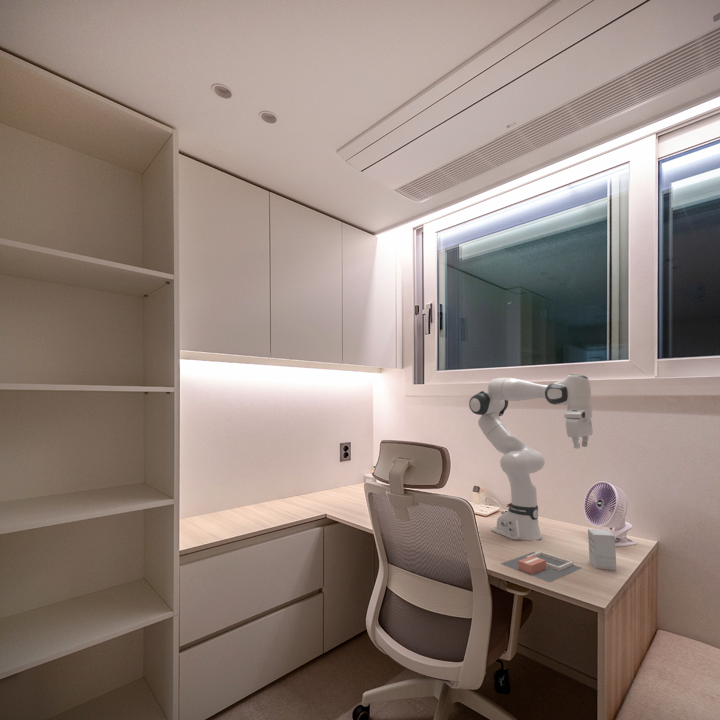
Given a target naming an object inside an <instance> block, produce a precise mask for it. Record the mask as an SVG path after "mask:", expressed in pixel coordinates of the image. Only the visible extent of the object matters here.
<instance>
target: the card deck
mask: <svg viewBox="0 0 720 720" xmlns="http://www.w3.org/2000/svg"><path fill="white" fill-rule="evenodd" d="M518 569H519V570H522V571H524V572H527V573H530V574H534V573H537V572H539V571H542V570H544V569H546V560H543V559H540V558H537V557H534V556H530V557H528V558H525V559H522V560H519V561H518Z"/></svg>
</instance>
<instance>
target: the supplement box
mask: <svg viewBox="0 0 720 720" xmlns="http://www.w3.org/2000/svg"><path fill="white" fill-rule="evenodd" d="M587 536H588V537H587V539H588V556H589V557H588V558H589V562H590V564H592V566H593V567H594V568H595V569H602V570H614V571H617V556H616V554H617V553H616V541H615V540H616V539H615V537H616V536H615V535H614V534H613V533H612V532H611V531H609V530H608V529H599V528H598V529H596V528H588V529H587Z"/></svg>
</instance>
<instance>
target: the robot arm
mask: <svg viewBox="0 0 720 720" xmlns="http://www.w3.org/2000/svg"><path fill="white" fill-rule="evenodd" d="M591 390H592V389H591V383H590V379H589V378H588V377H587V376H586V375H582V374H576V373H575V374H572V373H571V374H568V375H567V376H566V377H565V378H563V379H560V380H558V381H556V382H553V383H550V384H547V385H546V384H539V383H536V382H531V381H528V380H523V379H519V378H514V377H497V378H493V379H491V380H490V381H489V383H488V386H487V390H486V391H484V390H481V391H480V392H478V393H476V394H474V395H472V396H471V398H470V399H469V402H468V407H469V410H470V411H471V412H472V413H473V414H475V415H478V416H480V417H479V419H478V422H477V423H478V427H479V428H480V430H481V432H482V433H483V435H484V436H485V438H486V439H487V440H488V441H489V442H490V443H491V445H492V446H493V447H494V448H495V450H497V452H499V453H502V454H503V455H502V456H501V458H500V461H499V462H500V467H501V470H502V471H503V472H504V473H505V474H506V476H507V478H508V482H509V484H510V493H511V494H510V497H511V500H510V501H511V502H510V503H508V504H506V508H508V510H507V511H505V512H504V513H502V514H501V515H500V516H498V517H497V519H496V525H494V526H493V527H492V528H491V531H492V532H493V533H497V534H498V535H501V536H503V537H506V538H508V539H511V540H515V541H516V540H517V541H519V540H522V541H523V540H524V541H540V540H541V539H542V538H543V536H542V533H541V530H540V525H539V506H538V501H537V488H536V486H535V485H534V484H533V482H532V480H531V476H530V475H531V474H535V473H537V472H539V471H541V470H542V469H543V468H544V467H545V457H544V456H543V454H542V453H541V452H540V451H538V450H536V449H534V448H532V447H530V445H527V444H526V443H525V442H524V441H522V440H521V439H520V438H518V437H517V436H516V435H515V434H514V433H513V432H512V431H511V430H510V428H508V427H507V426H506V424H505V423H504V422H503V421H502V420H501V419H500V417H502V416H503V415H504V413H505V411H506V410H507V409H508V406H509V401H510V402H518V401H526V400H535V399H536V400H537V399H543V400H544V399H546V401H547V402H548V403H549V404H551V405H555V406H556V405H557V406H567V409H566V411H564V414H563V417H564V419H565V430H566V435H567V437H568V438H571V440H572V443H573V448H574V449H577V450H578V449H580V448H581V447H580V446H582V448H586V447H588V441H589V436H592V435H593V422H592V418H593V413H592V412H593V411H592V410H593V409H592V404H591V398H592V391H591ZM580 438H582V440H581V445H580V442H579V440H580Z"/></svg>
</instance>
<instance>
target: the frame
mask: <svg viewBox="0 0 720 720" xmlns="http://www.w3.org/2000/svg"><path fill="white" fill-rule="evenodd" d="M541 555H542V556H545V557H548V558H551V559H554V560H557V561H560V562H563V563H566V564H563V565H561V566H559V567H558V566H555V565H552V564H549V563H546V567H549V568H552V569H555V570H558V571H561V570H563V569H565V568H568V567H570V566H572V565H574V561H572V560H569V559H566V558H562V557H559V556H557V555H553V554H550V553H547V552H544V551H538V552H535V554H532V555H529V556H526V558H528V557H530V556H534V557H538V556H541Z"/></svg>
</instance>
